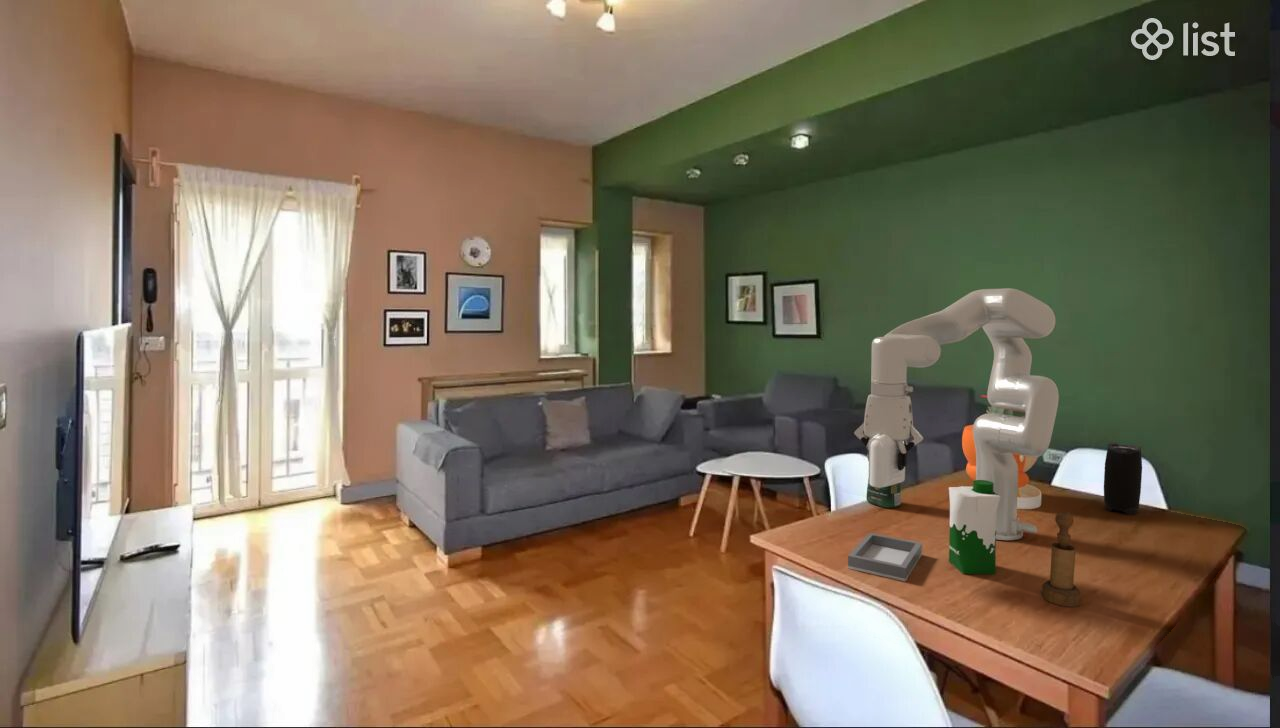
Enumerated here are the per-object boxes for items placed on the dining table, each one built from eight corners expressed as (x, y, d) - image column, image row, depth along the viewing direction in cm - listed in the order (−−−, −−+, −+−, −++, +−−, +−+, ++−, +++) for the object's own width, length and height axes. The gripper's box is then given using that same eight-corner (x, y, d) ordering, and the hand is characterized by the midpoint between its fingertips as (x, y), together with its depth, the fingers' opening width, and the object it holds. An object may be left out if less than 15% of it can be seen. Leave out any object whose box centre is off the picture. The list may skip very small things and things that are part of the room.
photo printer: (891, 477, 146) (891, 427, 145) (907, 481, 142) (908, 430, 141) (865, 485, 140) (866, 433, 139) (882, 489, 136) (882, 435, 135)
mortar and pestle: (1082, 610, 118) (1086, 520, 117) (1042, 602, 122) (1045, 515, 120) (1079, 596, 124) (1082, 510, 122) (1041, 589, 127) (1044, 505, 126)
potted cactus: (1024, 489, 197) (1027, 382, 194) (1054, 511, 175) (1058, 391, 172) (952, 486, 202) (954, 382, 199) (972, 507, 180) (975, 391, 177)
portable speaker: (1139, 509, 176) (1143, 444, 174) (1139, 517, 169) (1143, 450, 167) (1103, 503, 181) (1106, 441, 180) (1101, 511, 174) (1105, 446, 173)
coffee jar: (861, 502, 187) (862, 443, 185) (878, 497, 191) (879, 439, 189) (888, 510, 179) (889, 448, 177) (905, 505, 183) (906, 445, 181)
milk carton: (1002, 575, 134) (1005, 487, 132) (960, 576, 134) (963, 488, 133) (981, 559, 143) (983, 476, 141) (942, 560, 143) (944, 477, 141)
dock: (921, 554, 146) (922, 542, 146) (905, 581, 132) (905, 568, 132) (868, 544, 153) (869, 532, 153) (847, 568, 139) (848, 555, 139)
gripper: (932, 390, 137) (930, 468, 139) (855, 386, 147) (854, 459, 149) (925, 394, 131) (923, 476, 133) (845, 389, 141) (845, 465, 143)
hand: (887, 466), depth 141 cm, fingers closed on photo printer, 5 cm apart
